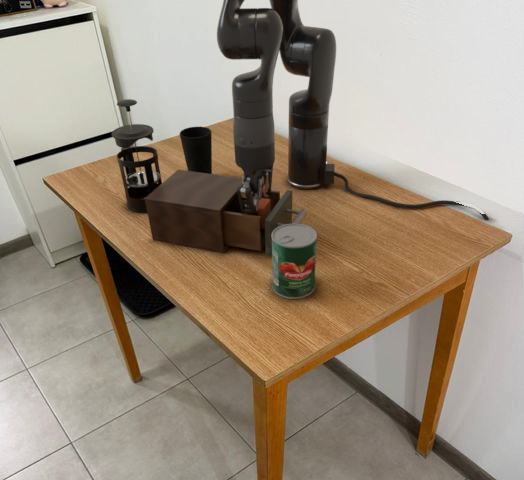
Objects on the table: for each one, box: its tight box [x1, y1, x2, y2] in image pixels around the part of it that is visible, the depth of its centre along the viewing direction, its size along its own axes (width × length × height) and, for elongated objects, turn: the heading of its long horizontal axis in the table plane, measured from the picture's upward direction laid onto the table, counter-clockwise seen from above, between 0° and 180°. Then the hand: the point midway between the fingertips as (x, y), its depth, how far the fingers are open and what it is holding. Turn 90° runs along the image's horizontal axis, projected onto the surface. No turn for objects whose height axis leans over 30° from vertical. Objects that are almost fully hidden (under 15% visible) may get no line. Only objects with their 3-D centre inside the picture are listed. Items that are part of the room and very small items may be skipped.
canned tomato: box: [271, 223, 318, 300], centre depth 90 cm, size 8×8×11 cm
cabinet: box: [144, 169, 244, 254], centre depth 107 cm, size 17×15×10 cm
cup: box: [179, 126, 213, 174], centre depth 125 cm, size 8×8×12 cm
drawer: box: [222, 189, 308, 257], centre depth 104 cm, size 20×13×8 cm
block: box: [243, 198, 271, 229], centre depth 103 cm, size 4×4×4 cm
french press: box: [111, 98, 163, 214], centre depth 113 cm, size 12×9×23 cm
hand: (257, 221), depth 104 cm, fingers closed on block, 4 cm apart
